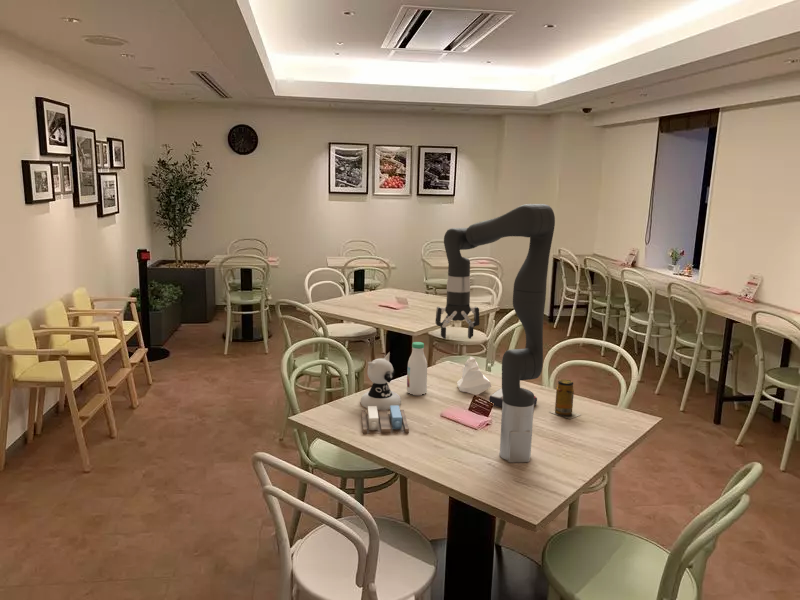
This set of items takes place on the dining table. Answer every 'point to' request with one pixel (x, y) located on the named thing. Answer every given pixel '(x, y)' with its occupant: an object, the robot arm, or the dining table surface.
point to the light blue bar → (395, 417)
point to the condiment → (564, 399)
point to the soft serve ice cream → (473, 378)
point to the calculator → (501, 398)
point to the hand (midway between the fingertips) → (456, 338)
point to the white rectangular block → (373, 418)
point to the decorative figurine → (380, 385)
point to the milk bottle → (417, 370)
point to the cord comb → (384, 423)
